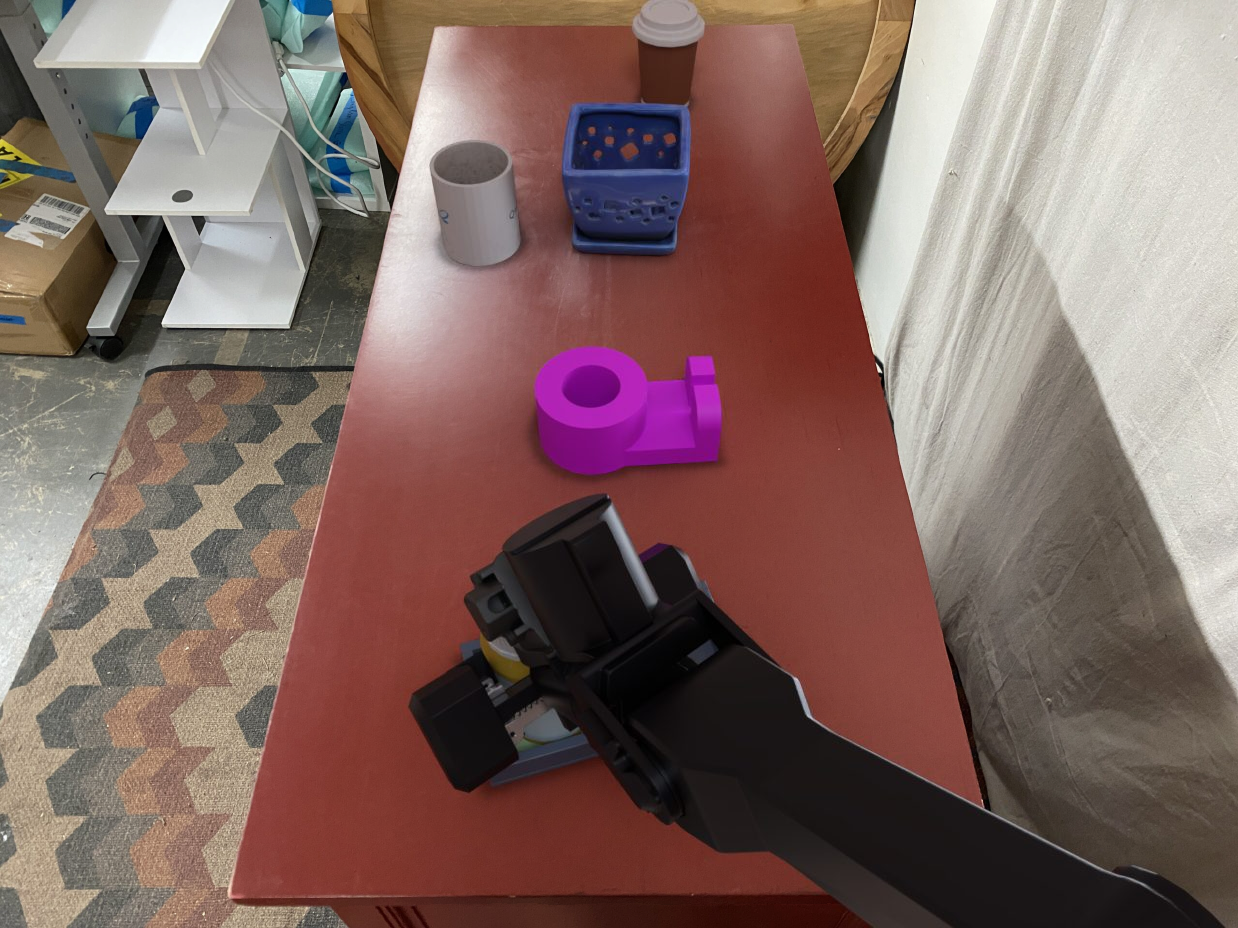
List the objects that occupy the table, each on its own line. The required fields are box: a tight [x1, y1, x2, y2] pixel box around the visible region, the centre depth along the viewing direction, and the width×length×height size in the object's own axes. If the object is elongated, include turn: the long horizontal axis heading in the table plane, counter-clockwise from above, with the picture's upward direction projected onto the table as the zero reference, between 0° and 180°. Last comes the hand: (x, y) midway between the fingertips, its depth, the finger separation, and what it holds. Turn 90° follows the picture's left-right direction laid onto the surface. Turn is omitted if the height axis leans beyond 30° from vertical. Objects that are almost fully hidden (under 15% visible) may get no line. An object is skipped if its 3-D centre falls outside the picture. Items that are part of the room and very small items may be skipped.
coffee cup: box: [631, 0, 706, 108], centre depth 117 cm, size 9×9×12 cm
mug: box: [428, 139, 522, 267], centre depth 100 cm, size 12×9×10 cm
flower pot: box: [561, 102, 692, 256], centre depth 100 cm, size 13×13×12 cm
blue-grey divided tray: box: [459, 579, 718, 788], centre depth 68 cm, size 10×19×3 cm, turn 107°
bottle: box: [479, 630, 581, 745], centre depth 62 cm, size 7×7×15 cm
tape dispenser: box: [534, 346, 723, 476], centre depth 83 cm, size 16×10×6 cm, turn 94°
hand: (525, 636), depth 62 cm, fingers closed on bottle, 7 cm apart
